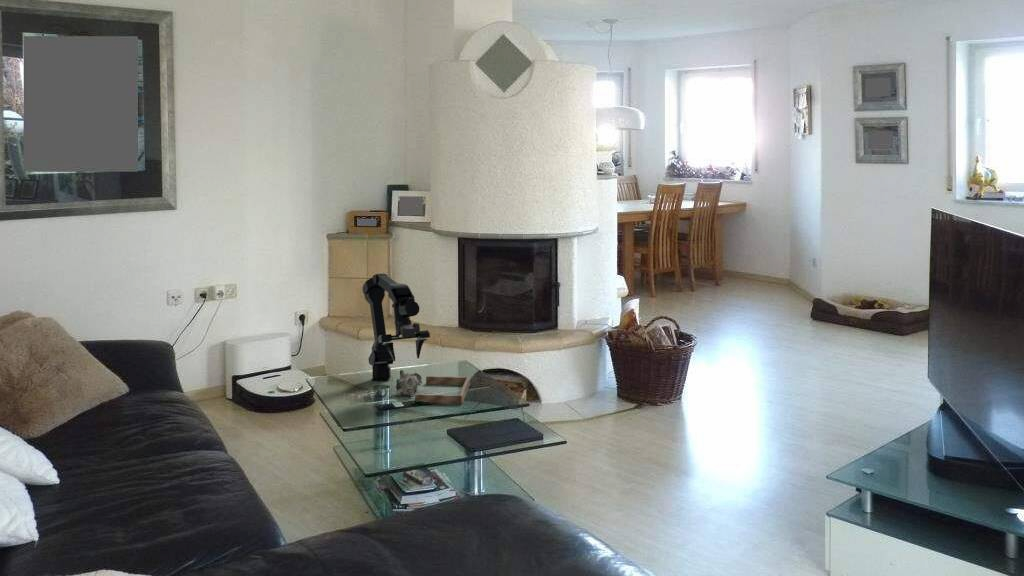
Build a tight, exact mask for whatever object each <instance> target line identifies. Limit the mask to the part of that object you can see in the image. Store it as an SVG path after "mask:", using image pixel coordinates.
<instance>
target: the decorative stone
mask: <svg viewBox="0 0 1024 576" xmlns="http://www.w3.org/2000/svg"><path fill="white" fill-rule="evenodd" d="M422 381H423V377H422V376H421V375H420V374H419V373H417V372H415V373H409V372H407V373H405V372H404V370H402V369H400V370H399V378H397V380H396V386H395V389H396V391H397V392H396V393H395V396H397V397H401V396H402V397H403V396H408V397H413V398H415V392H416V391H417V390H418V387H419V386H421V385H422V383H423V382H422Z"/></svg>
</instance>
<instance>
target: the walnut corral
mask: <svg viewBox="0 0 1024 576" xmlns="http://www.w3.org/2000/svg"><path fill="white" fill-rule="evenodd" d="M425 384H426V385H443V386H444V385H445V386H452V385H451V384H456V385H455V386H462V388H461V390H460V391H459V394H433V393H432V394H431V393H427V394H426V393H423V394H422V393H414V402H415V401H424V402H429V403H428V404H441V405H442V404H443V405H445V404H446V405H447V404H448V405H462V404H463V403H464V400H465V398H466V396H467V393H468V391H469V388H470V385H471V377H470V376H443V375H441V376H440V375H438V376H437V375H436V376H435V375H426V376H425Z"/></svg>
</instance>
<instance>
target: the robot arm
mask: <svg viewBox="0 0 1024 576" xmlns="http://www.w3.org/2000/svg"><path fill="white" fill-rule="evenodd" d="M386 292H387V293H388V298H389V299H390V300H391V301H392V305H391V308H393V318H394V323H393V324H394V325H395V326H394V328H395V335H392V334H391V333H390V334H387V331H386V322H385V317H384V316H385V315H384V309H383V301H384V298H385V296H386ZM362 293H363V295H364V299H365V301H366V302H367V303H368V304H369V309H370V315H371V322H372V323H371V324H372V330H373V337H374V341H373V343H372V346H371V353H370V355H369V357H368V365H370V366H371V367H372V368H371V369H372V378H371V381H373V382H374V381H377V382H378V381H380V382H381V381H382V382H387V381H389V380H390V378H392V370H391V369H392V367H391V366H390V365H393V364H394V362H395V361H396V356H395V354H396V353H395V349H394V342H392V341H396V340H397V341H399V340H406V339H416V340H415V351H416V352H415V353H416V359H420V355H421V350H422V347H423V344H424V343H425V341H427V339H429V338H431V333H430V332H429V330H427V329H426V330H421V328H420V327H421V326H420V323H419V322H414V323H412V320H411V317H415V316H417V315H418V314H419V313H420V304H419V303H418V302H417V301H415V296H414V294H413V292H412V290H411V289H410V287H409V285H408V284H406V283H401V282H400V283H398V282H396V281H395V279H394V280H393V279H392V278H391V277H390V276H388V274H387V273H375V274H373V275H372V277H370V278H369V279H367V280H366V281H365V282H364V284H363V285H362Z"/></svg>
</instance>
